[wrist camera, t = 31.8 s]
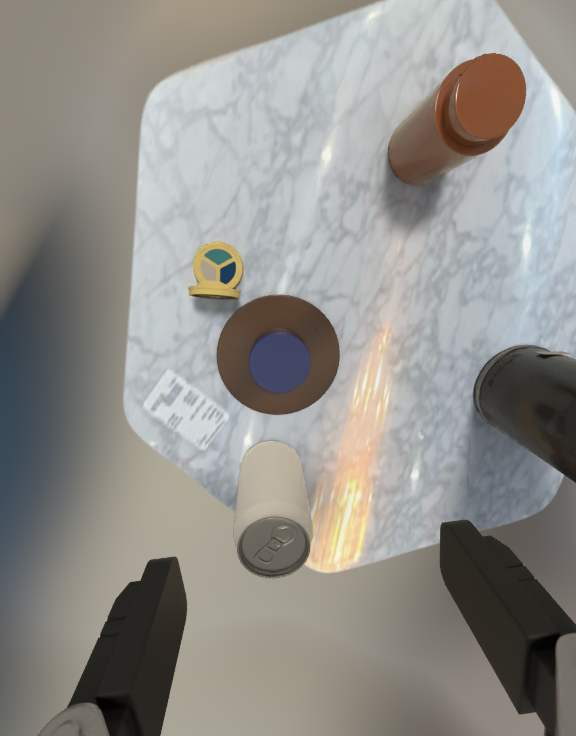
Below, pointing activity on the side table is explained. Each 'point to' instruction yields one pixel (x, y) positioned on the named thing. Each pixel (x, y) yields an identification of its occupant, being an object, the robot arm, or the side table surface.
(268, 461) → the can
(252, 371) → the jar lid
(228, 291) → the eyeshadow
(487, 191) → the side table surface
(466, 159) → the jar
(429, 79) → the side table surface
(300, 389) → the coaster
